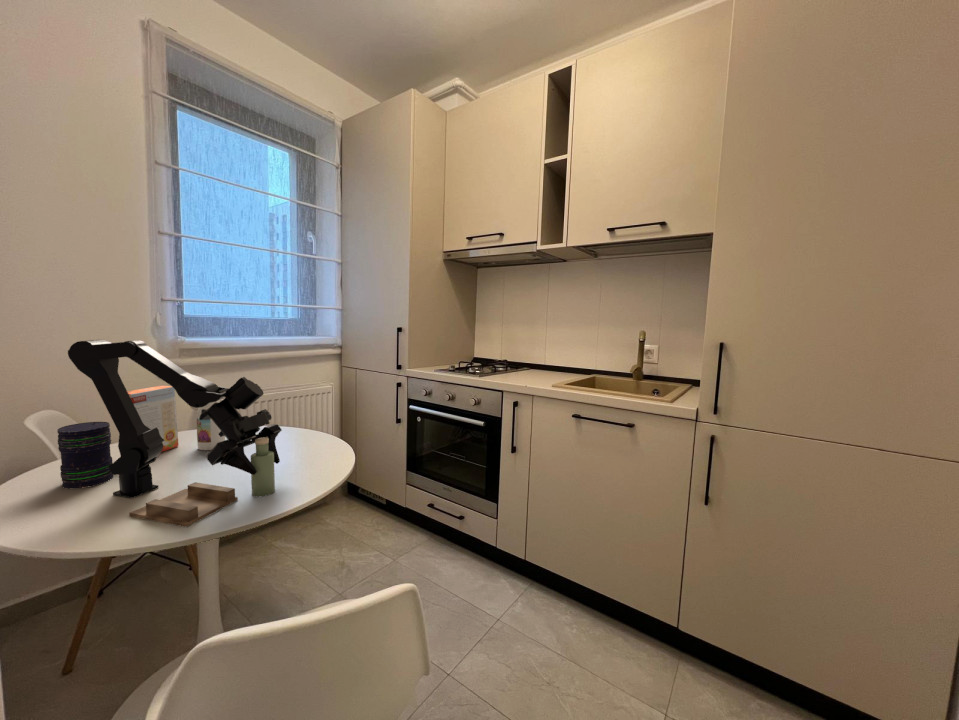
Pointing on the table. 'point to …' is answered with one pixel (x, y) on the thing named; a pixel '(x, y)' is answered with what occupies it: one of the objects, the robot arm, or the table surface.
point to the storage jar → (85, 454)
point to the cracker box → (158, 412)
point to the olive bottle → (263, 469)
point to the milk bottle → (207, 431)
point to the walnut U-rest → (187, 504)
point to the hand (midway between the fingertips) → (267, 467)
